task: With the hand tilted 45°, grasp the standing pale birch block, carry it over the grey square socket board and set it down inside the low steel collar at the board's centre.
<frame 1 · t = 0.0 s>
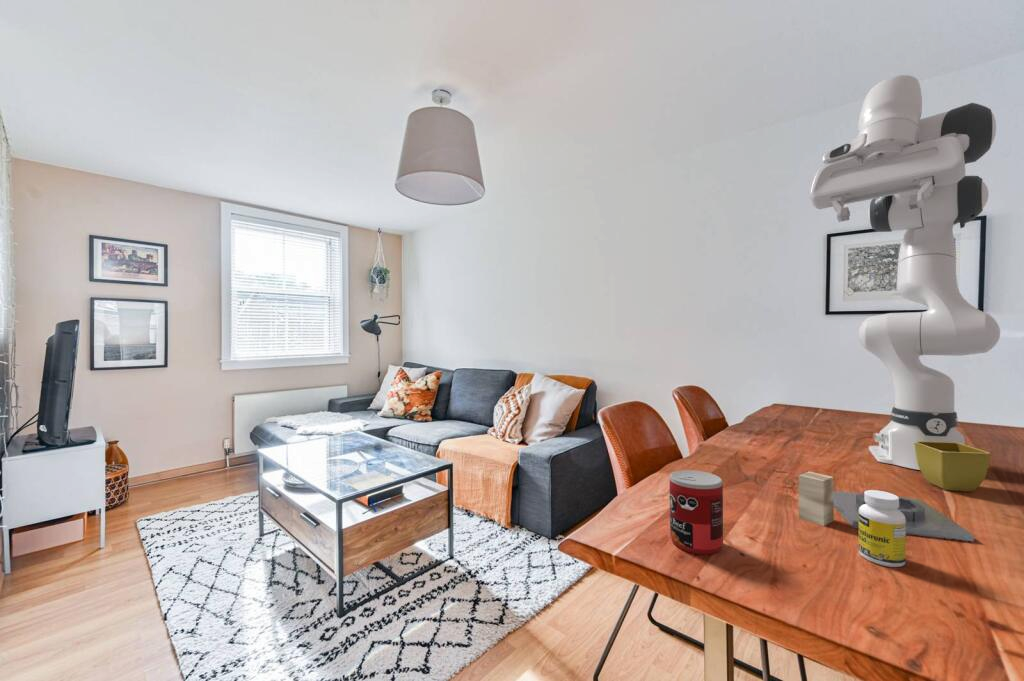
hand: (877, 213, 73), 54 cm above the table, tool tilted 30°, fingers open, 8 cm apart
grey square socket board: (889, 515, 80), on the table
canned food: (696, 544, 71), on the table
birch block: (816, 519, 79), on the table
flower pot: (950, 488, 94), on the table
supplement bottle: (881, 560, 65), on the table
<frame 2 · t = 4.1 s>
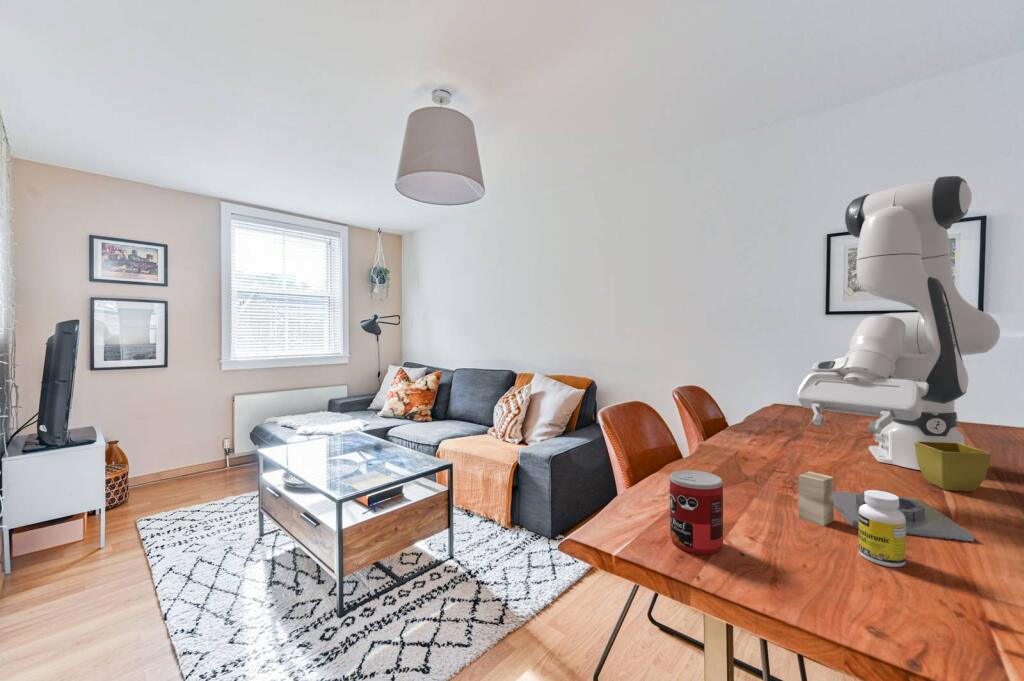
hand: (844, 427, 85), 15 cm above the table, tool tilted 45°, fingers open, 8 cm apart
nothing on the table moved.
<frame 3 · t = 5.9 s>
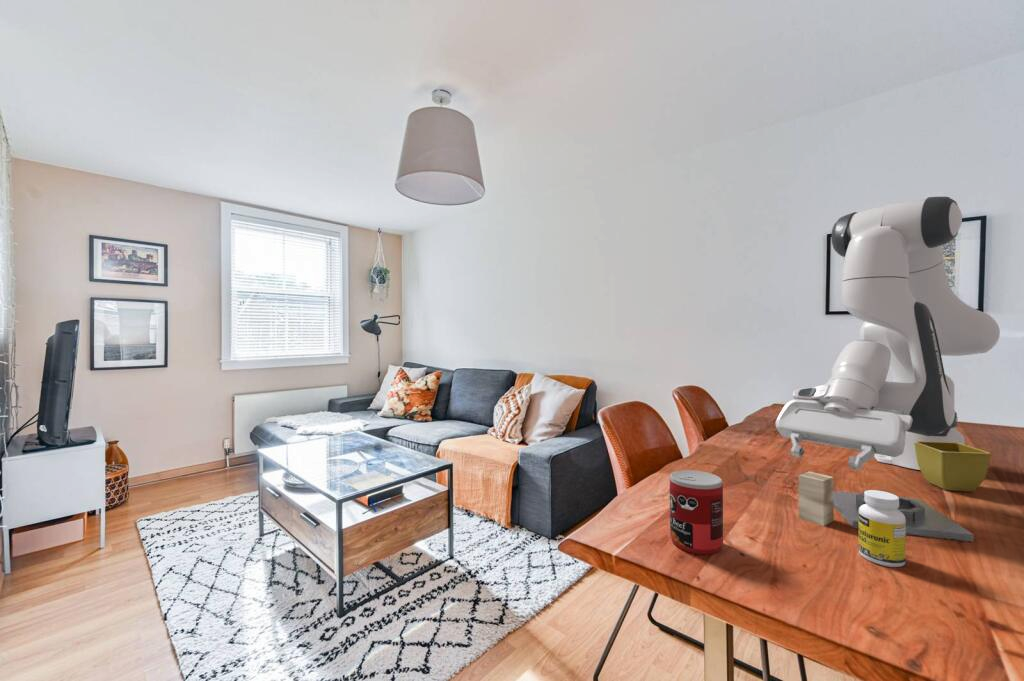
hand: (823, 461, 81), 10 cm above the table, tool tilted 45°, fingers open, 8 cm apart
nothing on the table moved.
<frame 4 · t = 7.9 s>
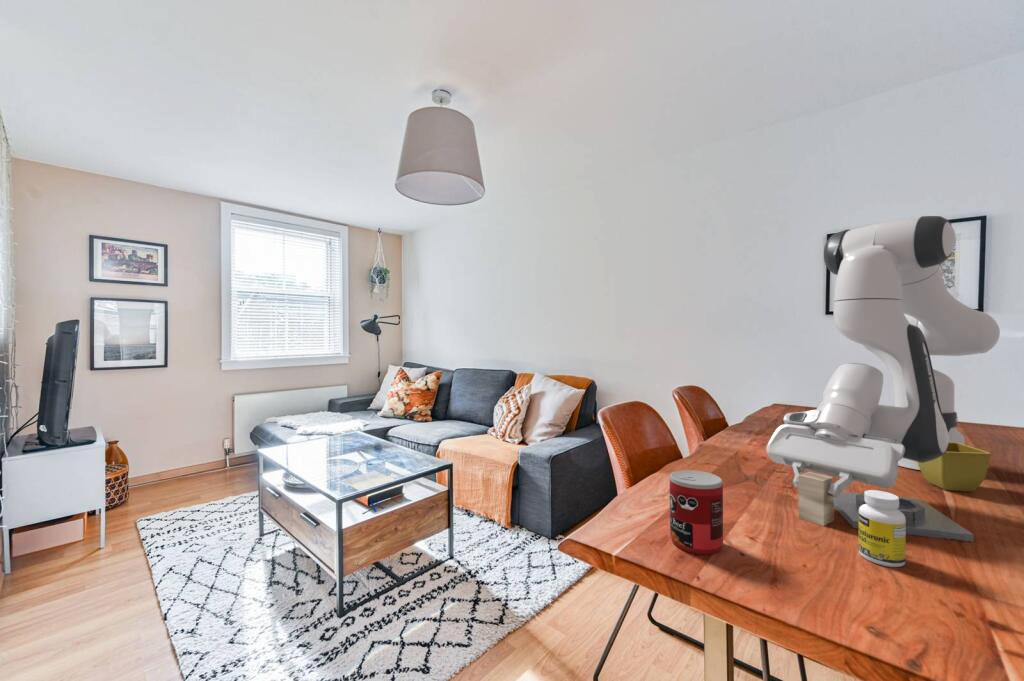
hand: (814, 490, 79), 5 cm above the table, tool tilted 45°, fingers closed on birch block, 4 cm apart
birch block: (816, 519, 79), on the table, touching gripper
everything else where it was.
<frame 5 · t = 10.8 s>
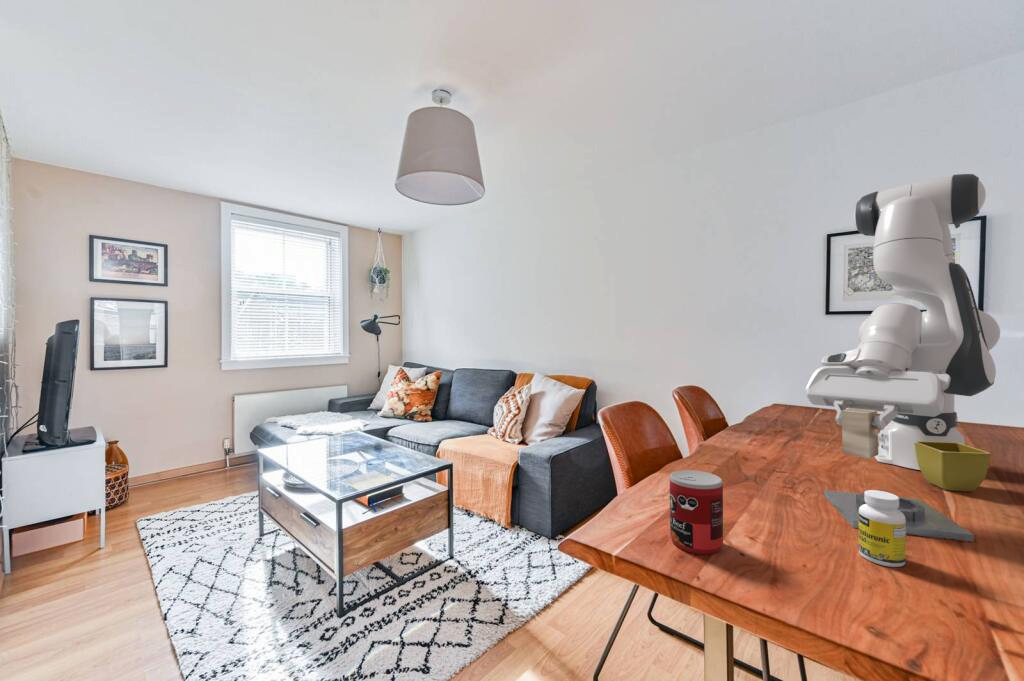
hand: (858, 425, 79), 17 cm above the table, tool tilted 45°, fingers closed on birch block, 4 cm apart
birch block: (860, 454, 79), point 12 cm above the table, touching gripper
everything else where it was.
when the fingers open (8 cm above the table, at t = 14.1 s): birch block drops 1 cm, resting on grey square socket board.
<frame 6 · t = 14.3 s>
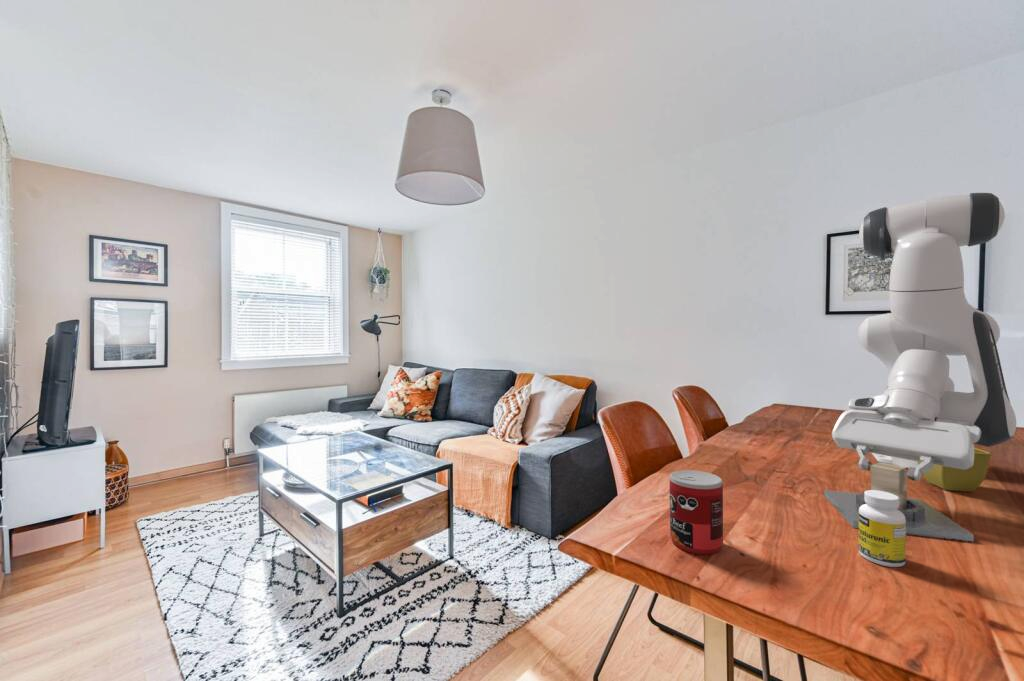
hand: (887, 473, 80), 8 cm above the table, tool tilted 45°, fingers open, 6 cm apart
birch block: (888, 509, 80), point 1 cm above the table, touching grey square socket board
everything else where it was.
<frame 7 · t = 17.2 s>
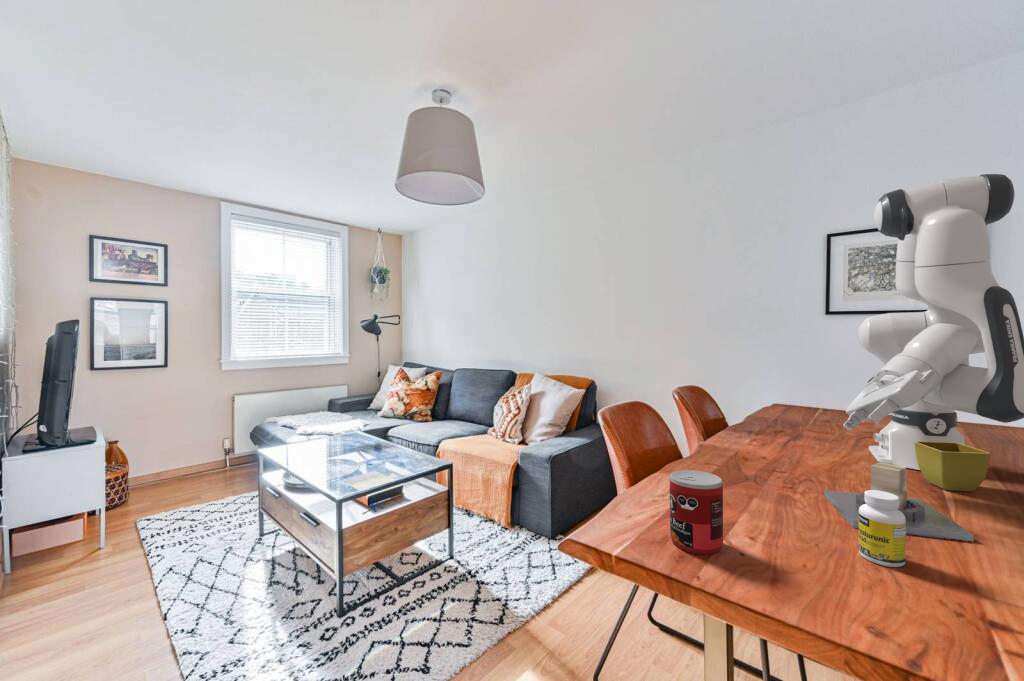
hand: (858, 424, 89), 15 cm above the table, tool tilted 50°, fingers open, 8 cm apart
nothing on the table moved.
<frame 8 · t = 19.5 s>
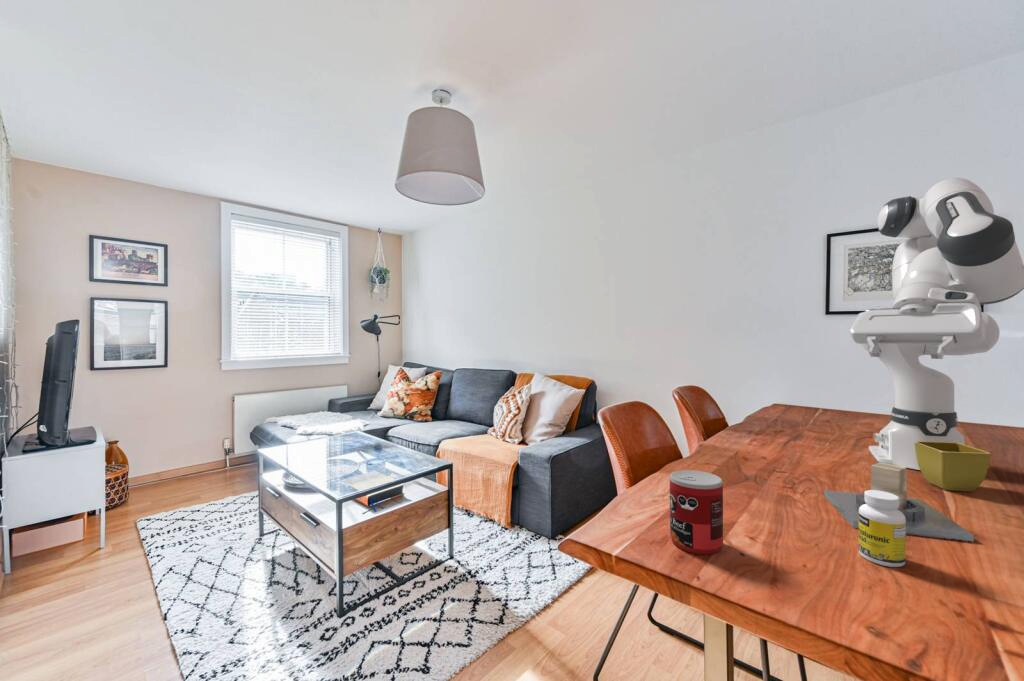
hand: (903, 355, 86), 29 cm above the table, tool tilted 45°, fingers open, 8 cm apart
nothing on the table moved.
at the end: birch block 0.1 cm from the grey square socket board (horizontally); birch block tilted 0°; the gripper is holding nothing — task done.
